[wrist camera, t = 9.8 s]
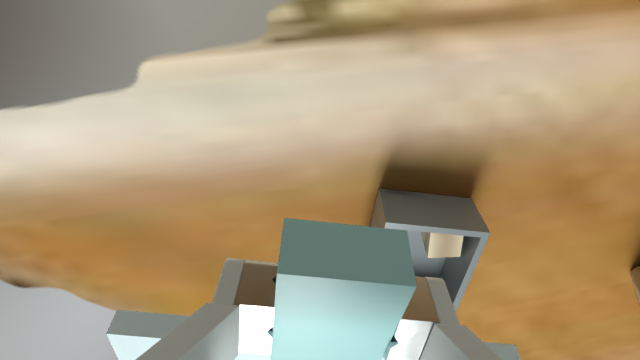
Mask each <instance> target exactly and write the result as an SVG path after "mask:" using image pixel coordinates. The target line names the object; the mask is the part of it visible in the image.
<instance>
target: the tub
mask: <svg viewBox="0 0 640 360" xmlns="http://www.w3.org/2000/svg"><path fill="white" fill-rule="evenodd" d="M370 227H378V228H387V229H397V230H407V234H408V240H409V246H410V251H411V257H412V263H413V268H414V274H415V276H420V277H434V278H442V279H443V280H444V281H445V284H446V287H447V290H448V292H449V295H450V298H451V301H452V304H453V306H454V309H455V312H456V311H457V308H458V306H459V304H460V301H461V299H462V297H463V294H464V292H465V290H466V288H467V285H468V283H469V281H470V278H471V276H472V274H473V271H474V269H475V267H476V265H477V262H478V260H479V258H480V255H481V253H482V251H483V248H484V246H485V244H486V242H487V239H488V237H489V235H490V231H489V230H488V228H487V226H486V224H485V222H484V221H483V219H482V217H481V215H480V213H479V212H478V210H477V208H476V206H475V204H474V203H473V201H472V199H471V198H465V197H456V196H446V195H437V194H427V193H418V192H408V191H399V190H389V189H380V188H379V189H378V194H377V198H376V202H375V207H374V211H373V215H372V219H371V224H370ZM422 232H430V233H440V234H450V235H460V236H464V237H463V243H462V249H461V255H460V257H441V258H428V257H427V254H426V251H425V248H424V245H423V241H422V238H421V234H422Z"/></svg>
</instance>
